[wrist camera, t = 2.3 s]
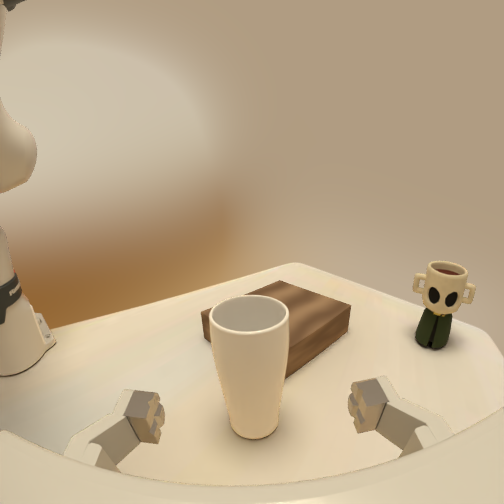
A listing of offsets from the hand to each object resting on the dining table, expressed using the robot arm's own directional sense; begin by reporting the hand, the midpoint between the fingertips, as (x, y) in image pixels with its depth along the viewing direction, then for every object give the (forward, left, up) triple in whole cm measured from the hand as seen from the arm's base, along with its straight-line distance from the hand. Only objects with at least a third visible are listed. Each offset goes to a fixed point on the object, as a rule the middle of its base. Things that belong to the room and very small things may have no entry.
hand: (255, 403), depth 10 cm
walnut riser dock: (-21, +23, -17) cm, 35 cm away
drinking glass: (-10, +8, -18) cm, 22 cm away
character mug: (+1, +38, -18) cm, 42 cm away
